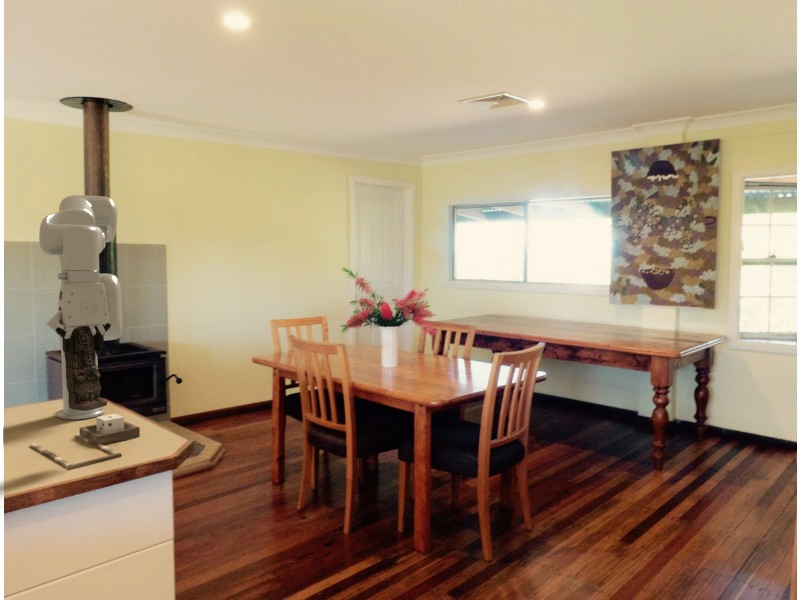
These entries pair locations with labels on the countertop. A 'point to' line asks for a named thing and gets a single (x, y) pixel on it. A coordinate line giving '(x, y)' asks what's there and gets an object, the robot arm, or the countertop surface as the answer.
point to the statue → (83, 372)
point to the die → (109, 423)
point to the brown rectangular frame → (70, 466)
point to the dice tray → (110, 434)
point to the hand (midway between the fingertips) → (83, 352)
